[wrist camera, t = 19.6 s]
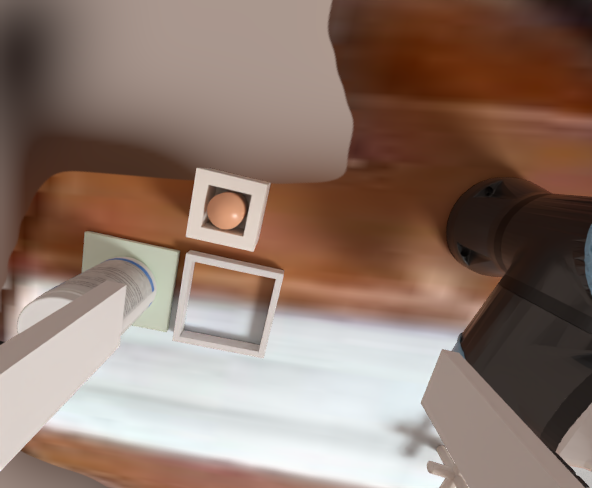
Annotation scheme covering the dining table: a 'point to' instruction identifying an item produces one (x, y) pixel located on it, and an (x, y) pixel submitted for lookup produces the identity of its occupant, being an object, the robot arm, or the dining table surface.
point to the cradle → (215, 341)
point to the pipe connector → (447, 470)
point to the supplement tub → (113, 269)
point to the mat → (152, 256)
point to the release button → (227, 209)
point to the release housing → (219, 182)
